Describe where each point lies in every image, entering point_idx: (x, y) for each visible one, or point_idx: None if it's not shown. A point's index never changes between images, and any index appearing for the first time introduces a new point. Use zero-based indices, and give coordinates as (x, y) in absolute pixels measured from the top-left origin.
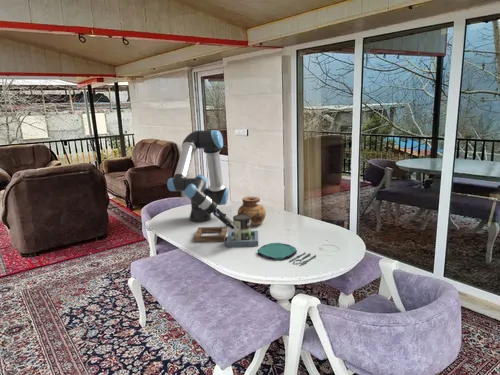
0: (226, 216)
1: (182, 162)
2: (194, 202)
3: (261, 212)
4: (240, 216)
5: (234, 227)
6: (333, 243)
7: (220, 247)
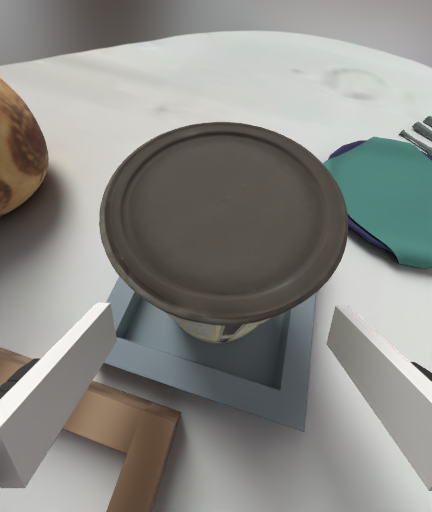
0: (9, 421)
1: None
2: None
3: (9, 90)
4: (190, 205)
5: (416, 363)
6: (322, 68)
7: (290, 476)
